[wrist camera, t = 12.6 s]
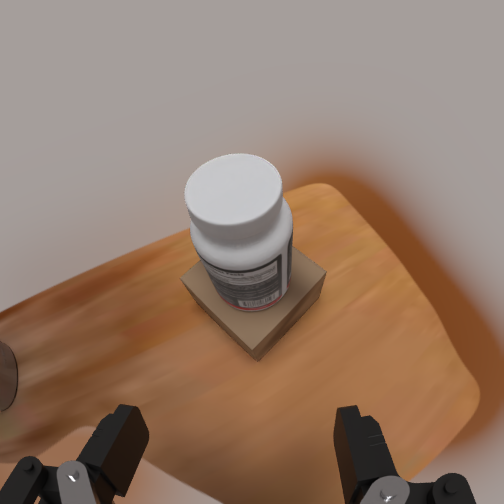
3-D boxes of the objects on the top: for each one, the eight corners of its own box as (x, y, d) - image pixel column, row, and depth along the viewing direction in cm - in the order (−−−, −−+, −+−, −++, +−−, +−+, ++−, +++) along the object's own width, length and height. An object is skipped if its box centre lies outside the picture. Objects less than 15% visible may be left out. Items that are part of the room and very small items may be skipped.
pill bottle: (240, 234, 24) (219, 136, 15) (303, 263, 22) (314, 165, 14) (200, 291, 22) (151, 206, 13) (266, 327, 20) (253, 255, 11)
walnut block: (257, 361, 23) (252, 349, 19) (196, 301, 27) (179, 278, 22) (319, 296, 26) (326, 271, 22) (256, 246, 29) (251, 215, 25)
